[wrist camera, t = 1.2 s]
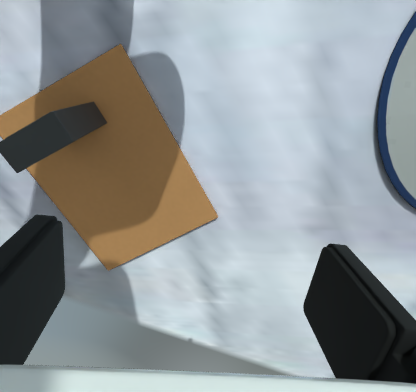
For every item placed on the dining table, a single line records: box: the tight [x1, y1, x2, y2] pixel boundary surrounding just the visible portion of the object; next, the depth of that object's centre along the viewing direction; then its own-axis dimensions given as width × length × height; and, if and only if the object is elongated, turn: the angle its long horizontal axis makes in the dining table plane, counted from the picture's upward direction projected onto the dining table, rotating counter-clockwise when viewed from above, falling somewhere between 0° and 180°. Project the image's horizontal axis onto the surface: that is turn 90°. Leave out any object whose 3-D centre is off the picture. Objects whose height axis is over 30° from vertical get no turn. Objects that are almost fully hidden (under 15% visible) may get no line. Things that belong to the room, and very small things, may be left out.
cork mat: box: [0, 44, 218, 271], centre depth 37 cm, size 24×18×1 cm
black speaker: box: [0, 101, 107, 173], centre depth 30 cm, size 3×6×11 cm, turn 117°
